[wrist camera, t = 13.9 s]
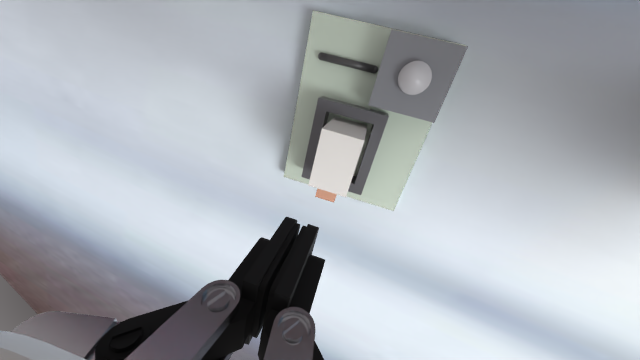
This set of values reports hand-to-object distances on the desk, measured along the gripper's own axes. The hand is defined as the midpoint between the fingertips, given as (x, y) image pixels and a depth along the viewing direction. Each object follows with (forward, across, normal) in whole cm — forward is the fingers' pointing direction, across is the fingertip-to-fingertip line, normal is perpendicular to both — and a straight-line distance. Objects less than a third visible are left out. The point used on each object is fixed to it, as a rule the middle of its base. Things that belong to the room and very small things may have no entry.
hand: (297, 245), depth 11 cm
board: (+22, -1, -3) cm, 22 cm away
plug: (+20, 0, 0) cm, 20 cm away
